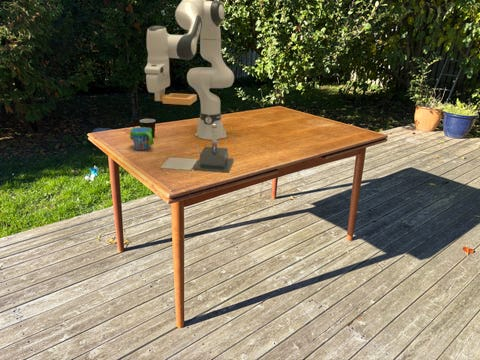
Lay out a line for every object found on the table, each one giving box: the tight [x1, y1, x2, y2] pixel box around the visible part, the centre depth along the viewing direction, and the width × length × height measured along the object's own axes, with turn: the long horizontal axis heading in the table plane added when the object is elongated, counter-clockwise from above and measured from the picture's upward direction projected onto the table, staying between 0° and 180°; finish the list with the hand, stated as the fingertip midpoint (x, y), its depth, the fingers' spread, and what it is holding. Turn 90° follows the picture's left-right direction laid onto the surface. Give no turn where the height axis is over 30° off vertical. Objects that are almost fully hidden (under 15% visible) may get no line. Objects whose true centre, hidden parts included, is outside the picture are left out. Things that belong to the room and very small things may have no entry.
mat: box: [160, 156, 199, 172], centre depth 174 cm, size 14×14×1 cm
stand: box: [193, 123, 234, 174], centre depth 170 cm, size 16×16×20 cm
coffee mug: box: [132, 118, 157, 139], centre depth 209 cm, size 12×9×10 cm
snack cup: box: [129, 126, 155, 151], centre depth 191 cm, size 16×10×10 cm
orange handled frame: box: [154, 92, 198, 106], centre depth 162 cm, size 12×17×2 cm
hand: (160, 99), depth 163 cm, fingers closed on orange handled frame, 3 cm apart
